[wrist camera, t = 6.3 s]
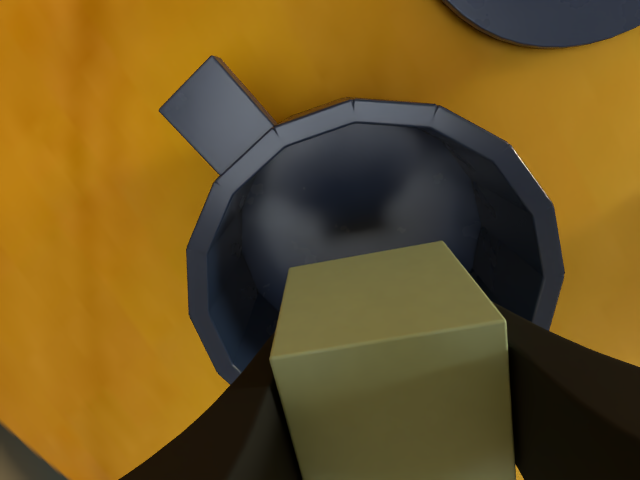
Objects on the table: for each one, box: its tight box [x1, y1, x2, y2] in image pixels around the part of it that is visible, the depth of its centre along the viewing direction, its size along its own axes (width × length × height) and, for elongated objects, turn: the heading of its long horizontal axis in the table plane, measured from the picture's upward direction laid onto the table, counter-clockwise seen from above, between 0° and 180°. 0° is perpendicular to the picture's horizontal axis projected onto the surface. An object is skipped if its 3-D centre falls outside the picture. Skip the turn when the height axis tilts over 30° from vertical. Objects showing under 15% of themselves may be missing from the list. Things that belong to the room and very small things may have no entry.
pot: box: [159, 55, 565, 385], centre depth 17 cm, size 12×18×6 cm
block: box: [269, 241, 516, 480], centre depth 10 cm, size 4×4×4 cm
